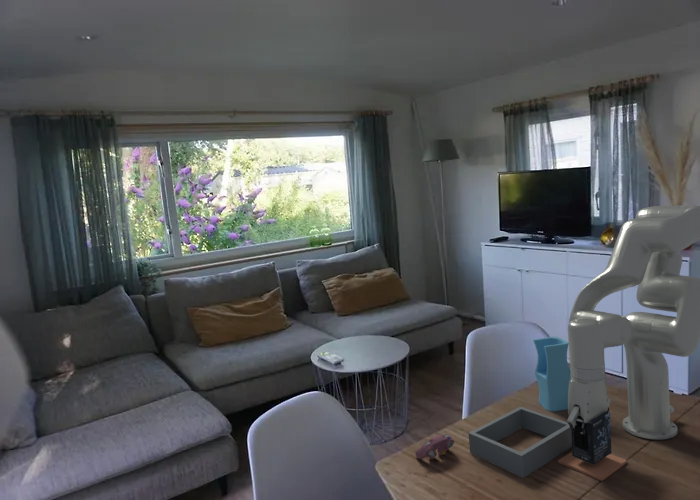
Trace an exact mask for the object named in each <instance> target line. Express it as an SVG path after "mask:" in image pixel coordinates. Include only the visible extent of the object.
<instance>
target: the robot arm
mask: <svg viewBox="0 0 700 500" xmlns="http://www.w3.org/2000/svg"><path fill="white" fill-rule="evenodd" d="M698 241H700V205H695V204H694V205H693V204H688V205H687V204H685V205H684V204H683V205H657V206H656V205H654V206H653V205H652V206H648V207H644V208H641V209H640V210H638V211H637V212H636V214H635V218H632V219H629V220H627V221H625V222H624V223H623V224H622V225H621V227H620V229H619V232H618V234H617V238H616V240H615V243H614V245H613V249H612V251H611V254H610V257H609V259H608V262H607V265H606V267H605V269H604V271H602V272H601V273H600V274H598V275H597V276H595V277H594V278H593V279H592V280H590V281H589V282H588V283H587V284H586V285H585V286H583V288H582V289H581V290H579V293H578V295H576V297H575V301H574V304H573V306H572V308H571V312H570V315H569V319H568V320H569V321H568V324H567V325H568V326H567V337H568V338H567V339H568V341H567V342H568V343H569V344H568V354H569V355H568V356H569V369H570V375H571V379H570V382H569V390H568V409H567V413H568V418H567V419H566V421H567V423H568V424H569V426H570V428H571V429H572V431H573V434H574V446H575V447H578V448H580V449H583V450H588V438H587V434H586V433H585V432H586V424H587V423H589V421H591V420H593V419H595V418H596V417H598V416H600V415H601V414H603V413H605V412H606V411H607V412H609V413H610V405H611V398H610V397H609V396H608V387H607V381H606V366H605V365H606V361H605V349H607V348H614V347H621V346H623V348H624V353H625V361H626V363H625V365H626V384H627V385H626V386H627V404H628V405H627V406H628V407H627V408H628V409H627V410H628V415H627V416H626V417H625V418H623V420H622V427H623V429H624V430H625V431H626V432H628V433H629V434H631V435H633V436H636V437H639V438H642V439H647V440H657V441H658V440H660V441H662V440H668V439H669V440H670V439H671V438H674V437H676V436H677V434H678V426H677V425H676V424H675V423H674V422H673V421H671V414H672V413H674V411H675V407H674V406H673V405H671V404H670V402H671V401H670V382H669V381H670V380H669V379H670V376H669V366H668V362H667V359H666V358H665V356H664V355H663V354H665V355H666V354H667V355H670V356H676V357H683V358H685V357H690V356H692V355H693V354H694V353H695V352H696V351H697V348H698V346H699V343H700V278H699V277H696V276H691V275H680V273H681V269H682V264H683V256H682V254H681V251H683V250H685V249H687V248H688V247H690V246H692V245H693V244H694V243H696V242H698ZM636 286H637V289H636V301H637V303H638V304H639V305H640V306H642V307H643V308H647V309H651V310H656V311H664V312H671V313H676V316H673V315H664V314H661V313H654V312H645V311H634V312H630V313H628V314H626V315H625V316H624V315H620V314H617V313H610V312H606V311H600V310H596V307H597V305H598V304H599V303H600V302H601V301H602V300H603V299H604V298H606V297H608V296H610V295H611V294H615V293H618V292H620V291H624V290H627V289H629V288H633V287H636ZM579 416H580V417H582V418H583V419H584V420H581V419H578V417H579ZM578 422H581V423H583V424H582V428H581V427H580V426H579V425H578Z"/></svg>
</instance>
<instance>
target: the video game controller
mask: <svg viewBox="0 0 700 500" xmlns="http://www.w3.org/2000/svg"><path fill="white" fill-rule="evenodd" d="M454 444H455V440H454V438H452V436H450V435H449V434H447V433H445V434H444V435H442V434H441V435H434V436H432V437H431V438H429V440H427V441H425V442H424V443H423V444H422V445H421V446H420V447H419V448H417V449H416V450H415V456H416V458H417V459H419V460H423V459H425V458H429V459H430V460H433V459H435V458H436V457H437V454H439V456H443V455H445V453H446V452H447V451H448V450H449V449H450V448H452V446H453V445H454Z"/></svg>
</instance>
